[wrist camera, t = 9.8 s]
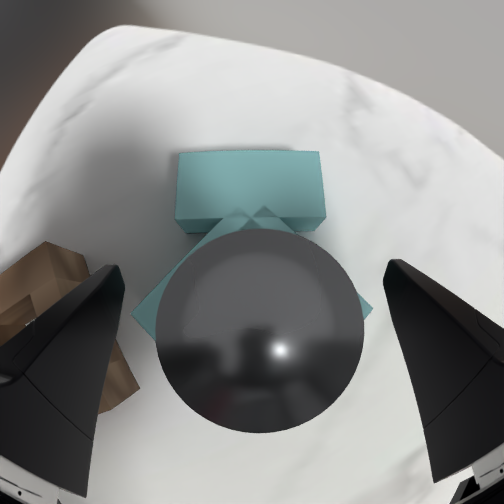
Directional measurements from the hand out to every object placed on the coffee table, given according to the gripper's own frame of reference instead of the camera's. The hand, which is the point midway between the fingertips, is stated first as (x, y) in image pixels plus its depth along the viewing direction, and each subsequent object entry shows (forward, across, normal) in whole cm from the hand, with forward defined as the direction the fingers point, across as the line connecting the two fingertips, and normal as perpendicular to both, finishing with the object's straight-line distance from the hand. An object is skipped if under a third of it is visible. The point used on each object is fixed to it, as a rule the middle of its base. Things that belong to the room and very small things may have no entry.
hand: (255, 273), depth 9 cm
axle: (+5, 0, +7) cm, 9 cm away
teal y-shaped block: (+8, 0, +4) cm, 9 cm away
